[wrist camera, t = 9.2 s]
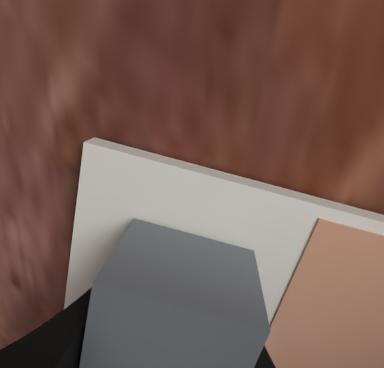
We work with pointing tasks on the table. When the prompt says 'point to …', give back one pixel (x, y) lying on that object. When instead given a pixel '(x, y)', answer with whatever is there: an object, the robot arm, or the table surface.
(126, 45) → the table surface
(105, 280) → the grey rectangular block
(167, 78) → the table surface
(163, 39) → the table surface
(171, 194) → the board
